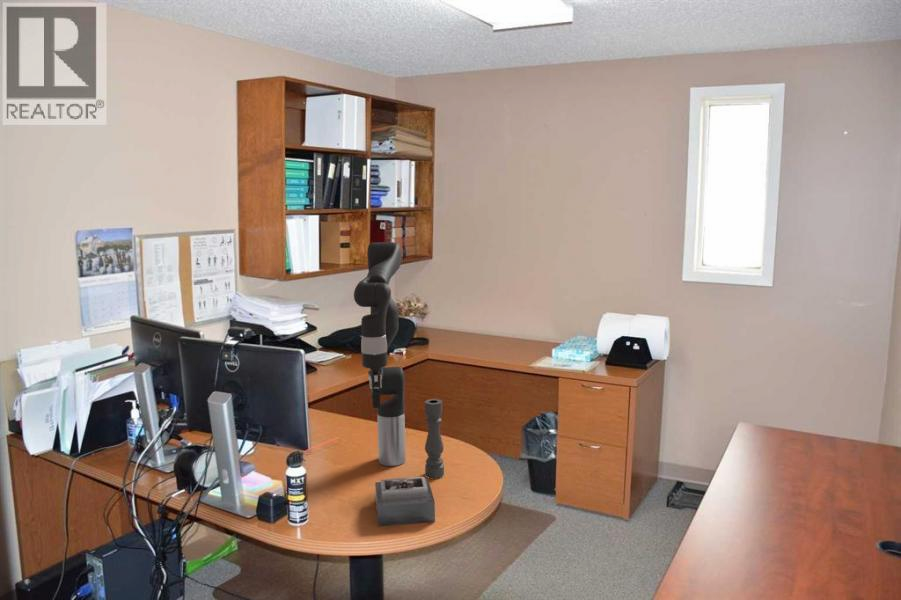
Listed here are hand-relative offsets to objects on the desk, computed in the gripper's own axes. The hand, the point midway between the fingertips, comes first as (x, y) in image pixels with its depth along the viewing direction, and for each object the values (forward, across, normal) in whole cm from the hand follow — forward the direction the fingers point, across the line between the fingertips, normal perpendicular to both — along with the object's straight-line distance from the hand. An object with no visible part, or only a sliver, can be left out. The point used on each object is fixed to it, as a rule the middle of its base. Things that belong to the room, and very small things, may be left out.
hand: (375, 403), depth 211 cm
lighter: (+30, +11, +7) cm, 33 cm away
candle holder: (+30, -14, +19) cm, 38 cm away
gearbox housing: (+30, +10, +7) cm, 32 cm away
